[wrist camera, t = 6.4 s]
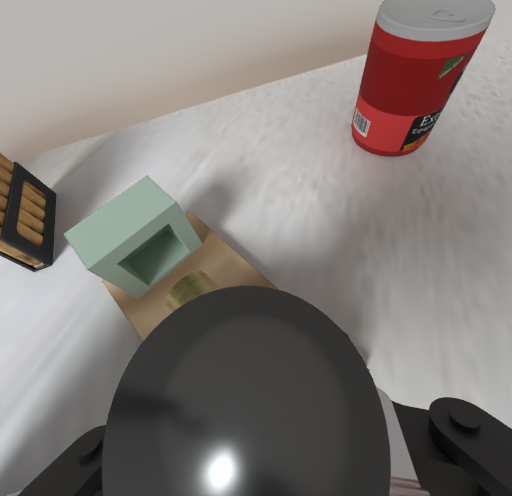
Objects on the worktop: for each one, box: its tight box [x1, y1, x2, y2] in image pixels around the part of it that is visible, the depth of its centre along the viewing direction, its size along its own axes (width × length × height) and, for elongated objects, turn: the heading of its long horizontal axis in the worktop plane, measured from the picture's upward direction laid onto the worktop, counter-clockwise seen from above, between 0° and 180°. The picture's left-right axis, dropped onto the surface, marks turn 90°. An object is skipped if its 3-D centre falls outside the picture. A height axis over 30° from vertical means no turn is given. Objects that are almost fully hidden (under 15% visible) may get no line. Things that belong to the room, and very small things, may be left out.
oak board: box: [102, 212, 370, 371], centre depth 20 cm, size 20×10×1 cm, turn 45°
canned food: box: [351, 0, 495, 156], centre depth 23 cm, size 8×8×11 cm
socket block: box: [64, 176, 203, 299], centre depth 20 cm, size 4×7×6 cm, turn 135°
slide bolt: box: [102, 271, 391, 496], centre depth 11 cm, size 11×3×14 cm, turn 45°
